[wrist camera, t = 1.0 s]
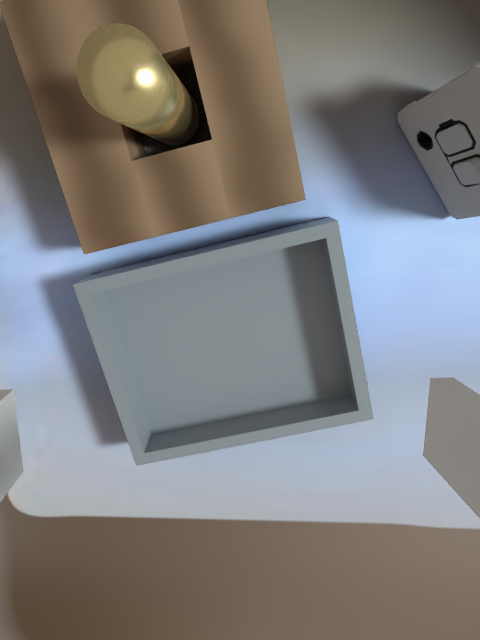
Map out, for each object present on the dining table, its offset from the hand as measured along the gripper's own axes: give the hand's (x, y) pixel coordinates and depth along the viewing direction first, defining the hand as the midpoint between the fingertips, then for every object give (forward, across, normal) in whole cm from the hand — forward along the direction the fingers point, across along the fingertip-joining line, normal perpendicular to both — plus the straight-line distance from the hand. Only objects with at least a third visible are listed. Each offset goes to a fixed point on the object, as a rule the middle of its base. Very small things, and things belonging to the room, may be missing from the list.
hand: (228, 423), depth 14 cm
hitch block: (+24, -3, +14) cm, 28 cm away
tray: (+24, +1, -4) cm, 25 cm away
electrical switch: (+22, +18, +12) cm, 31 cm away
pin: (+24, -3, +14) cm, 28 cm away
